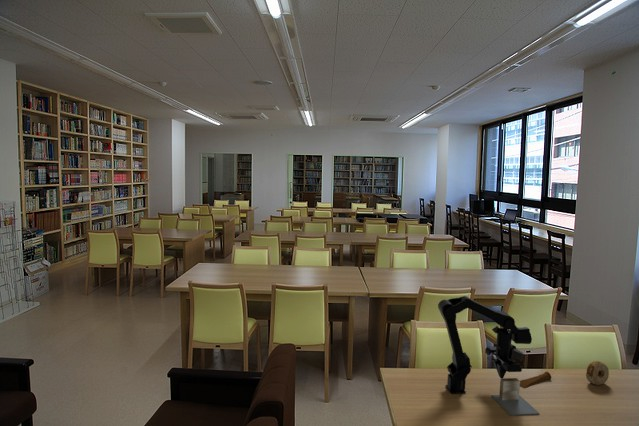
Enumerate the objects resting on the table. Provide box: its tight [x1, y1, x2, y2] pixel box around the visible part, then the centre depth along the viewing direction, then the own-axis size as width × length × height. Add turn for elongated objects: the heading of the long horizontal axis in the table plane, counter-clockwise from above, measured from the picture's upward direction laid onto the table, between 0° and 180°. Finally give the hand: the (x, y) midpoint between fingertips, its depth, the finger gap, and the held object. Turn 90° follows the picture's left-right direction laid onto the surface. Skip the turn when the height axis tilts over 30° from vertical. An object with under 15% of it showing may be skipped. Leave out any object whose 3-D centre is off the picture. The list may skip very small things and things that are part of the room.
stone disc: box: [585, 360, 610, 386], centre depth 185 cm, size 10×4×10 cm, turn 104°
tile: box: [498, 377, 521, 400], centre depth 170 cm, size 7×2×8 cm, turn 96°
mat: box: [490, 394, 541, 417], centre depth 166 cm, size 12×14×1 cm
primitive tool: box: [519, 371, 552, 389], centre depth 186 cm, size 19×6×4 cm, turn 116°
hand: (501, 378), depth 176 cm, fingers closed
